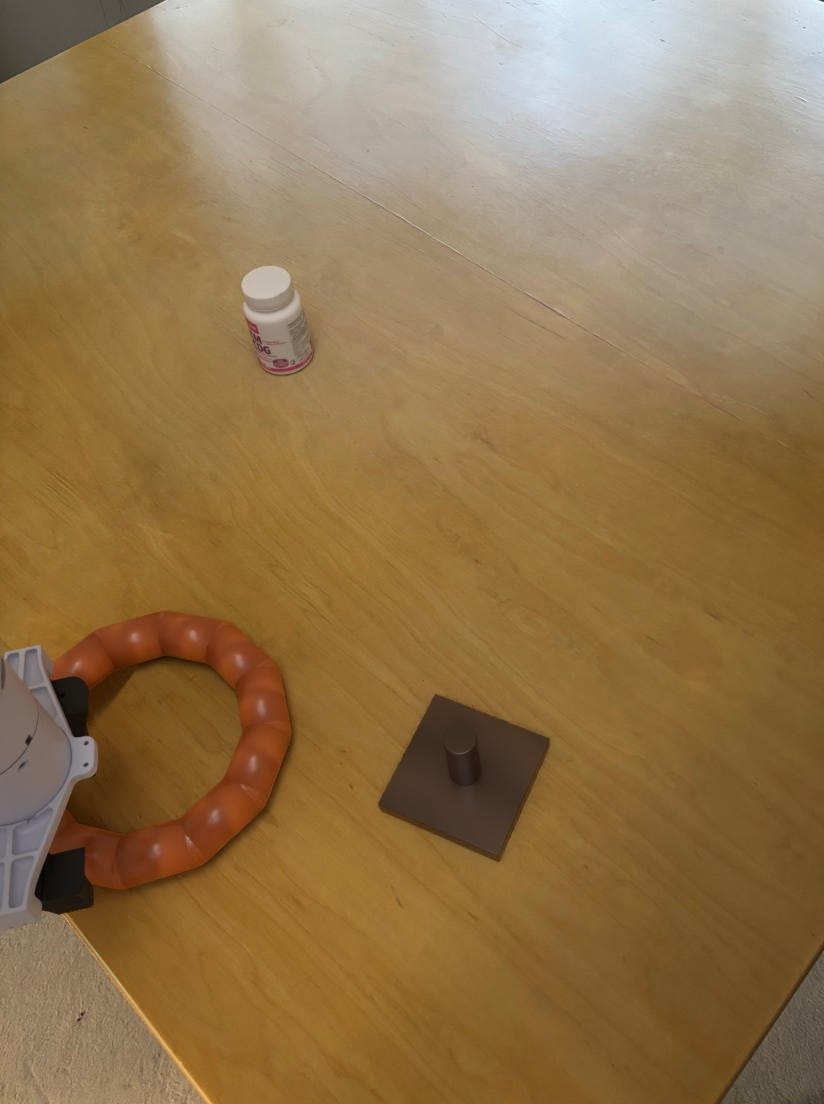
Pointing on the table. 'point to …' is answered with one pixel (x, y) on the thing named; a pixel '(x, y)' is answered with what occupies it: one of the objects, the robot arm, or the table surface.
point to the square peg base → (465, 776)
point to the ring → (249, 770)
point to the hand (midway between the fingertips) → (77, 837)
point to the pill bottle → (276, 320)
